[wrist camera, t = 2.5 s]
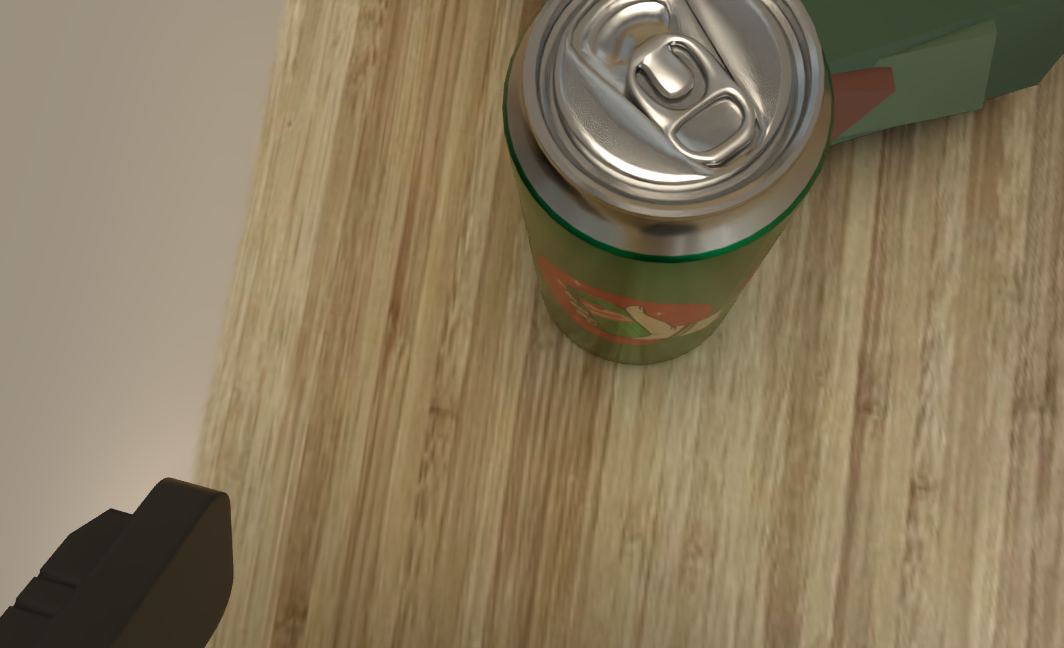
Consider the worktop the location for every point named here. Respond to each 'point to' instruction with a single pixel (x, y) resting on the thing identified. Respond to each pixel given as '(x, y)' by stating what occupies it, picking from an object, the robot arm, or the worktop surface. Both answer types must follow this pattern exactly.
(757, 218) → the soda can
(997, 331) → the worktop surface
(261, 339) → the worktop surface
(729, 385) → the worktop surface
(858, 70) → the green angular faceted piece
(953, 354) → the worktop surface
